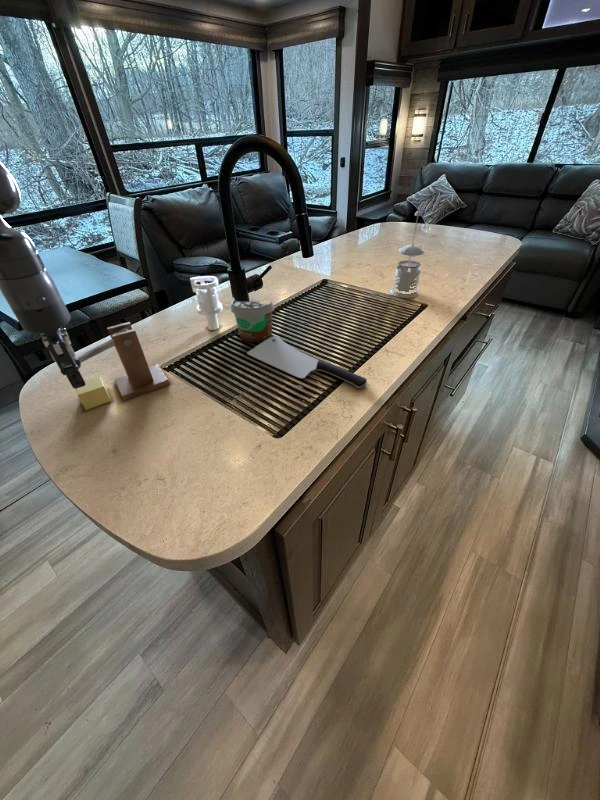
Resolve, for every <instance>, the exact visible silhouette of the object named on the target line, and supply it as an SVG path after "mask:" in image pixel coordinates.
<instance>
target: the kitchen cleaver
mask: <svg viewBox="0 0 600 800" xmlns="http://www.w3.org/2000/svg"><path fill="white" fill-rule="evenodd" d="M246 354H247V355H248V356H250V357H252V358H253V359H256V360H259V361H260V362H263V363H264V364H267V365H269V366H271V367H273V368H276V369H278V370H280V371H282V372H283V373H286V374H288V375H291V376H292V377H295V378H298V379H302V380H304V379H305V378H306V377H307V376H308V375H309V374H311V372H313V371H316V372H322V373H325V374H328V375H330V376H332V377H335V378H337V379H339V380H341V381H344V382H345V383H348V384H351V385H352V386H354V387H355V388H357V389H364V388H365V387H366V385H367V381H368V380H367V378H366V377H364V376H361V375H358V374H355V373H353V372H351V371H348V370H346V369H344V368H341V367H339V366H336V365H335V364H333V363H329V362H327V361H324V360H321V359H317V358H315V357H313V356H311V355H309V354H306V353H304V352H302V351H300V350H298V349H296V348H294V347H293V346H291V345H290V344H288V343H287V342H285V341H284V340H283V339H281V337H279V336H277V335H272V336H271V337H270V338H268V339H267V340H264V341H261V343H259V344H258V345H256V346H255V347H253V348H252V349H250V350H248V351H247V352H246Z"/></svg>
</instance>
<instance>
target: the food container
mask: <svg viewBox="0 0 600 800" xmlns="http://www.w3.org/2000/svg"><path fill="white" fill-rule="evenodd" d="M274 311H275V304H274V303H273V301H271V302H269V303H268V304H265V303H259V302H256V301H241V300H236V299H235V297H232V298H231V301H230V312H232V314H233V315H234V318H235V323H236V326H237V329H238V334H239V337H240V339H241V340H243V341H244V342H248V343H260V342H264V341H265V340H267V339H269V338H270V337H272V336H273V312H274Z"/></svg>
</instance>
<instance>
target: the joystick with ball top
mask: <svg viewBox="0 0 600 800" xmlns="http://www.w3.org/2000/svg"><path fill="white" fill-rule="evenodd" d="M124 331H128V329H127V328H126V327H125V328H123V329H121V330H119V331H117V332H115V333H113V334H117V333H120V332H124ZM113 347H115V343H114V341H113V339H112V338H111V339H110V340H108V341H106V342H104V343H102V344H100V345H97V346H95V347H94V348H92V349H90V350H88V351H86V352H83V353H81V354H79V355H77V356H75V358H74V360H75V362H76V365H78V367H79V368H78V369H79V370H80V369H81V367H82V363H83V362H85V361H87V360H89V359H91V358H93V357H96V356H97V355H99V354H101V353H103V352H105V351H107V350H109V349H111V348H113ZM63 365H64V367H65V366H69V365H72V364H71V362H70V361H68V362H64V363H63Z"/></svg>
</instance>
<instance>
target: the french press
mask: <svg viewBox="0 0 600 800" xmlns="http://www.w3.org/2000/svg"><path fill="white" fill-rule="evenodd" d="M414 216H415V217H416V221H415V227H414V232H413V239H412V243H411V244H407V245H404V246H402V247H401V248H399V249H398V252H399V254H401V255H404V256H409V258H408V259H405V260H400V261H398V262H397V265H398V266H396V267H395V274H394V278H393V279H394V280H393V285H392V288H391V289H392V290H391V289H390V290H389V294H390V295H392V296H394V297H398V298H405V299H411V298H415V297H417V296H419V291H418V290H416V289H418V284H419V279H420V274H421V267H420V266H421V263H420V262H419V261H415V260H416V256H422V255H424V254H425V252H426V251H425V249H424V248H422V247H420V246H418V245H417V244H416V245H415V244H414V241H415V236H416V230H417V224H418V219H419V217H421V216H422V211H420V210H416V212H415V213H414ZM411 258H413V260H411ZM395 284H396V285H398V287H396V286H395ZM412 284H413V285H412ZM393 286H394V287H395V288H396V289H398V290H399V291H405V292H409V290H414V289H415V288H416V287H417V288H416V289H415V290H416V292H414V293H411V294H402V293H398V292H395V291H394V290H393ZM410 286H411V287H413V286H416V287H414V288H410Z"/></svg>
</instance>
